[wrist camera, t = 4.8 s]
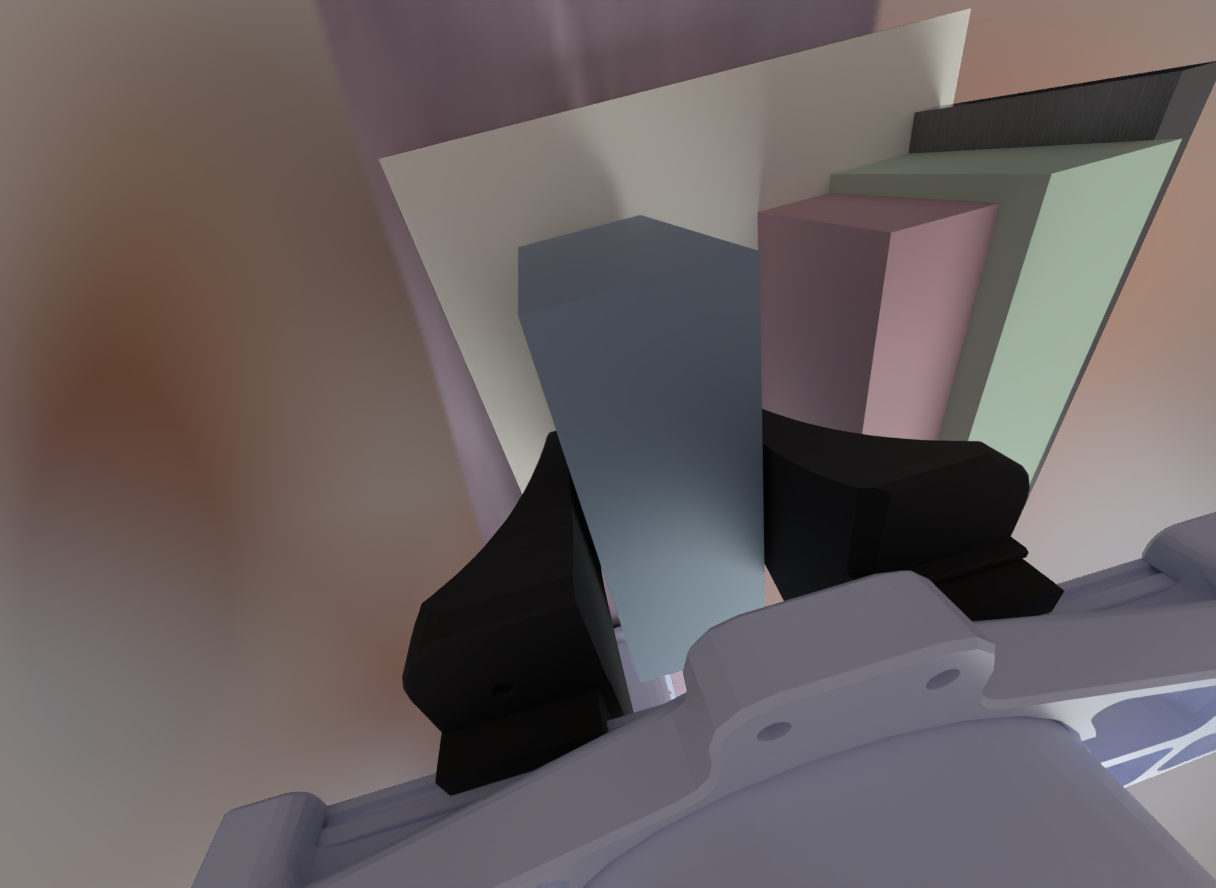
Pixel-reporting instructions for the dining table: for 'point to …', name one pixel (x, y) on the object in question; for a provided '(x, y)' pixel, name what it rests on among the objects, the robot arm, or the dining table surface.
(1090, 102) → the bookend
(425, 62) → the dining table surface
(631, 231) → the slate book
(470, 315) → the shelf board
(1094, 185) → the books
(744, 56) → the dining table surface
